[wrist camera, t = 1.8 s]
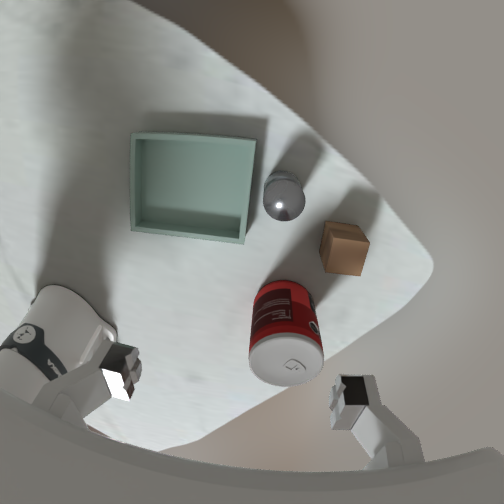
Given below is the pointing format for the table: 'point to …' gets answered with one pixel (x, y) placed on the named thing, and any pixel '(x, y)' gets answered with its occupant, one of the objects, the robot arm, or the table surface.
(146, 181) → the tray
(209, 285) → the table surface
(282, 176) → the metal peg
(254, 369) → the canned food
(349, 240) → the walnut block
